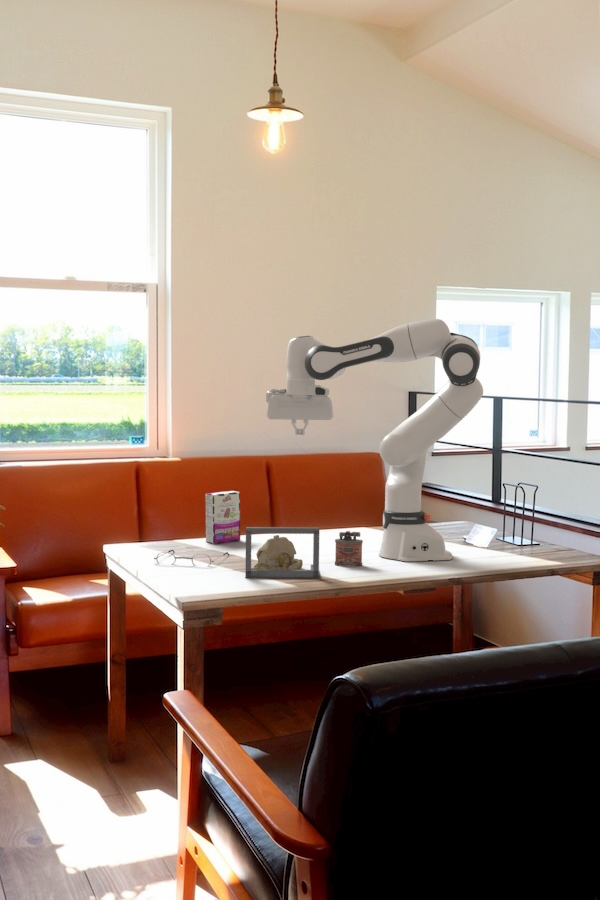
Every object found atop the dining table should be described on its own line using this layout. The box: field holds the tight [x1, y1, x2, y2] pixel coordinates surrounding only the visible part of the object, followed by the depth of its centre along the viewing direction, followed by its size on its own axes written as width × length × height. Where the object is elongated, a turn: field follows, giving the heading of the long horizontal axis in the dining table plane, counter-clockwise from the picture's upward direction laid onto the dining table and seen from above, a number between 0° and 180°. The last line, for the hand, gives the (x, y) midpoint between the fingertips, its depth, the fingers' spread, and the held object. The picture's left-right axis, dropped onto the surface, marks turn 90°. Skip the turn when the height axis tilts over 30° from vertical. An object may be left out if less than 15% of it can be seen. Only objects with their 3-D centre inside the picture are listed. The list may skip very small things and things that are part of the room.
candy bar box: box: [204, 490, 241, 545], centre depth 307 cm, size 11×5×16 cm, turn 131°
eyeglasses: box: [153, 549, 230, 567], centre depth 277 cm, size 18×19×4 cm
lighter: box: [334, 530, 364, 567], centre depth 271 cm, size 8×3×10 cm, turn 82°
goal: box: [244, 526, 320, 579], centre depth 258 cm, size 20×11×14 cm, turn 93°
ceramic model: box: [251, 534, 304, 570], centre depth 264 cm, size 14×11×10 cm
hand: (299, 434), depth 284 cm, fingers closed
